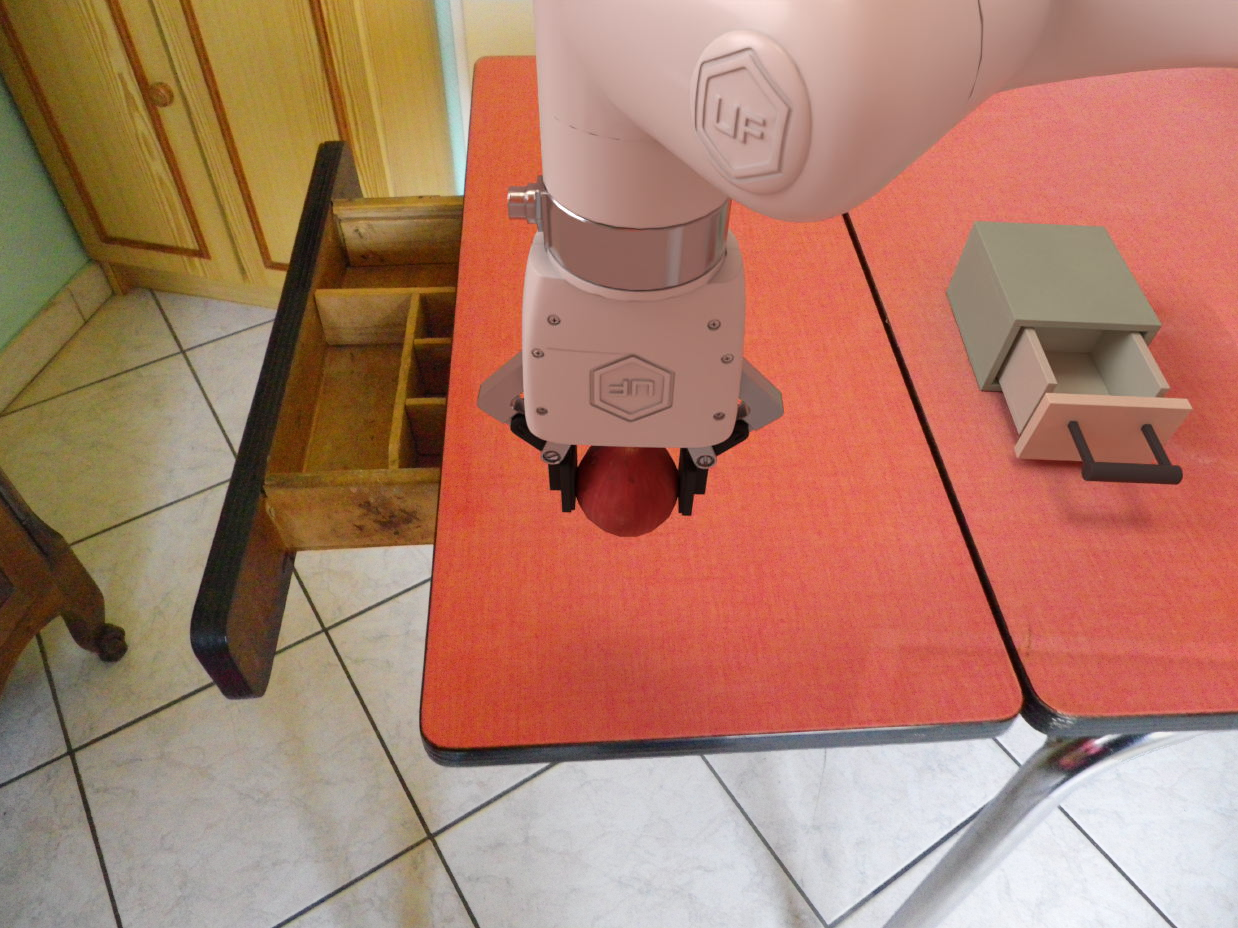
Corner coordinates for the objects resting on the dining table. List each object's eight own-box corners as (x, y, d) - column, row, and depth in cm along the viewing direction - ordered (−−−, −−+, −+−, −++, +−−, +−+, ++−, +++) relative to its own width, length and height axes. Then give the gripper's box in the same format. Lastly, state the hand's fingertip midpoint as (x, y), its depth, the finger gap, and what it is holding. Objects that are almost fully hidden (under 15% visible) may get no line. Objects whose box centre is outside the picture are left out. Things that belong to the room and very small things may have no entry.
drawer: (1177, 519, 69) (1225, 465, 63) (1036, 513, 69) (1073, 458, 63) (1097, 357, 81) (1132, 300, 76) (978, 352, 81) (1005, 295, 76)
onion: (560, 544, 49) (554, 453, 43) (600, 475, 53) (599, 381, 47) (654, 577, 48) (661, 488, 42) (688, 504, 51) (699, 411, 45)
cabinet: (1115, 396, 79) (1162, 325, 72) (980, 390, 79) (1015, 319, 72) (1066, 297, 88) (1104, 226, 82) (945, 292, 88) (974, 220, 82)
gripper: (409, 266, 32) (466, 544, 46) (863, 279, 32) (785, 553, 46) (441, 163, 37) (484, 441, 51) (834, 174, 37) (772, 450, 51)
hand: (627, 492), depth 48 cm, fingers closed on onion, 5 cm apart
